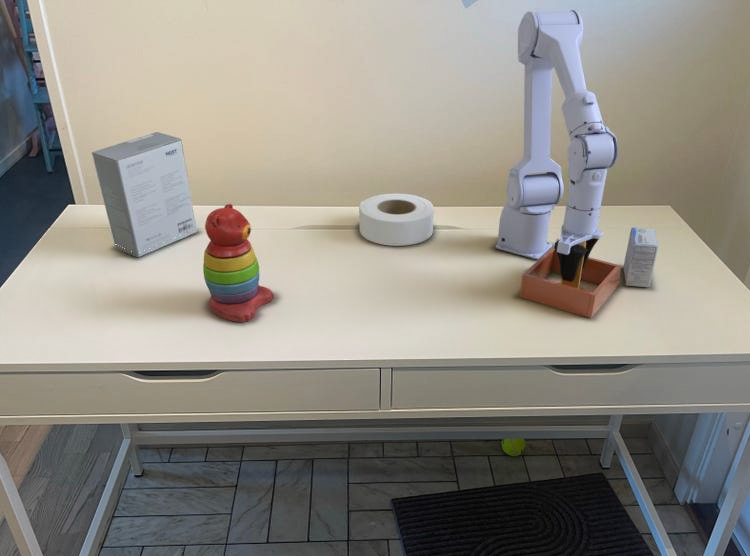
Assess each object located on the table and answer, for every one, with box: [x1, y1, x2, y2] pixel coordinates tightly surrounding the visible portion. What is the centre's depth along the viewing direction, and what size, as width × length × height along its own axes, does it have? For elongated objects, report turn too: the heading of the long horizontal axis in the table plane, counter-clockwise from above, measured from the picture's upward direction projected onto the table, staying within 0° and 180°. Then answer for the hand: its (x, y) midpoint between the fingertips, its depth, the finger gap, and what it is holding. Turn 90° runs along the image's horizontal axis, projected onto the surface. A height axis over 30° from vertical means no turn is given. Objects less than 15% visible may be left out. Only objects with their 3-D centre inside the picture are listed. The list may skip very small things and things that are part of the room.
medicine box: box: [623, 227, 659, 289], centre depth 134 cm, size 8×4×9 cm, turn 168°
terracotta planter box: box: [519, 246, 622, 319], centre depth 131 cm, size 14×14×4 cm
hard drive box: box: [91, 131, 198, 258], centre depth 142 cm, size 16×8×20 cm, turn 144°
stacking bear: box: [202, 203, 275, 323], centre depth 121 cm, size 11×10×18 cm
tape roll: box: [358, 193, 435, 247], centre depth 151 cm, size 16×16×6 cm
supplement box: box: [560, 241, 586, 289], centre depth 129 cm, size 3×3×10 cm
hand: (571, 275), depth 130 cm, fingers closed on supplement box, 4 cm apart
